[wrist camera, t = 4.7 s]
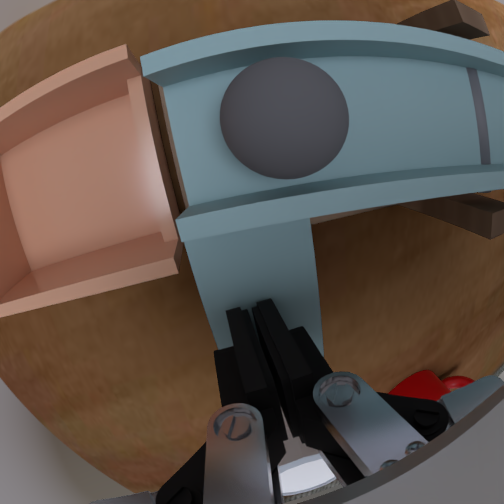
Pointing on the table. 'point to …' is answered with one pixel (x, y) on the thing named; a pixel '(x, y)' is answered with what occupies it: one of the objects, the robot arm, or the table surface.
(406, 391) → the mug
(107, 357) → the table surface
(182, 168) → the lever
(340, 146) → the ball
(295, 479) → the white cylinder
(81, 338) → the table surface
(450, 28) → the launcher base
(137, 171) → the pink open box
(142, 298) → the table surface
